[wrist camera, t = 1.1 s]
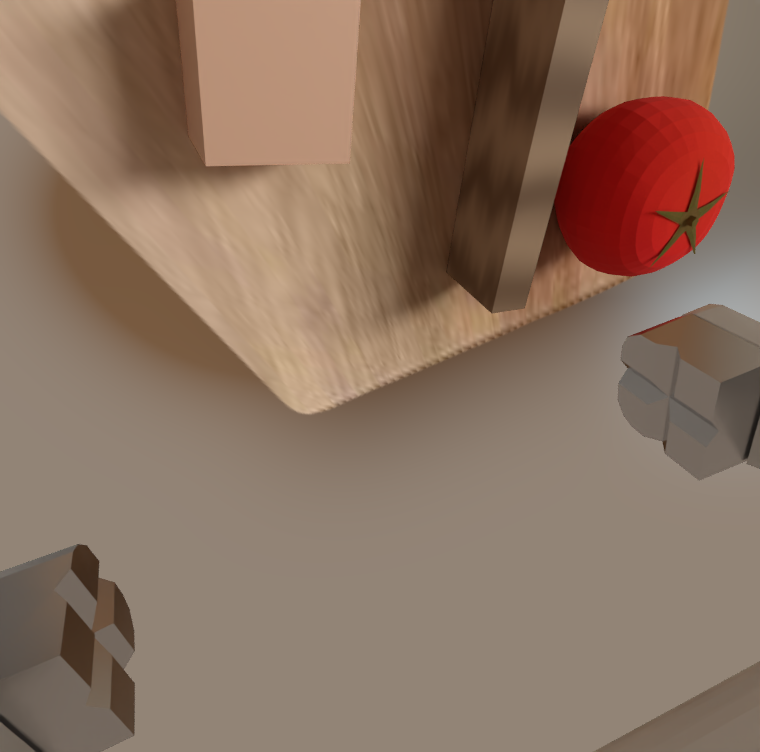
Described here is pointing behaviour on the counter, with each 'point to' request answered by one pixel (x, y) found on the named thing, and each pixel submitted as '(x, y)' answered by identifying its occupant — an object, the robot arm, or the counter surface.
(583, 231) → the tomato
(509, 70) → the walnut board
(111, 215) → the counter surface
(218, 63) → the terracotta block
